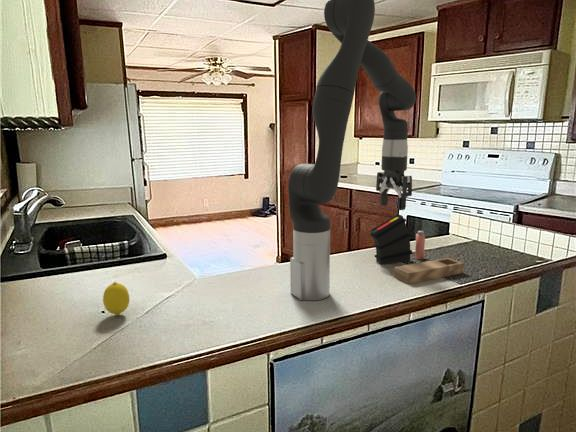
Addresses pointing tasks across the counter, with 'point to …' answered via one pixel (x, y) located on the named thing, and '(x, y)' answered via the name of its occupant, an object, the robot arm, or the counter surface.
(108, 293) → the lemon
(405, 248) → the magazine
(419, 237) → the pink cylinder
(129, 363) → the counter surface
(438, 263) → the joist
